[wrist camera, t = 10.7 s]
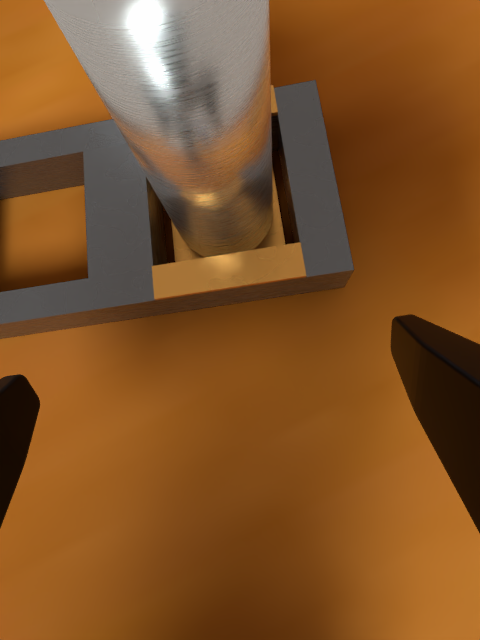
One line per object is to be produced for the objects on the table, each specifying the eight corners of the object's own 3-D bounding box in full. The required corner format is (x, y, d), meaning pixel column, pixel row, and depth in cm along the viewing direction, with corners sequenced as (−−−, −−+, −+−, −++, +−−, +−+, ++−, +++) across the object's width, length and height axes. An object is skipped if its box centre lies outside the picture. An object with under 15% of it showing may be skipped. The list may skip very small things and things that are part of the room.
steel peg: (286, 184, 19) (302, -150, 8) (253, 272, 18) (212, 49, 7) (197, 159, 20) (87, -178, 8) (161, 242, 19) (-17, -3, 8)
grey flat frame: (311, 118, 20) (315, 76, 17) (344, 287, 18) (355, 268, 15) (-37, 182, 22) (-81, 153, 19) (-43, 345, 20) (-93, 337, 17)
